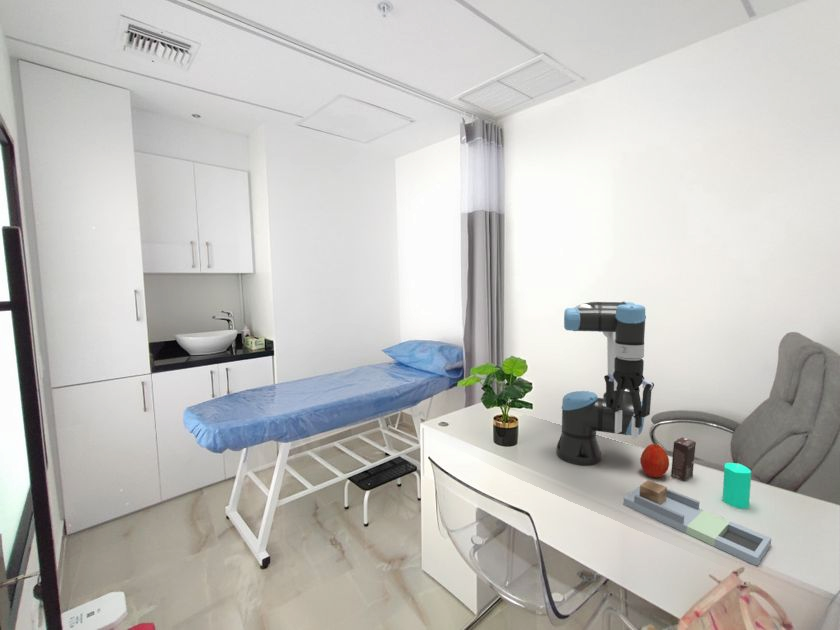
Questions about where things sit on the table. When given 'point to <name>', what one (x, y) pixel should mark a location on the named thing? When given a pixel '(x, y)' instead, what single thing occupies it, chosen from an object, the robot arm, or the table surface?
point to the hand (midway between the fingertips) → (626, 434)
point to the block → (653, 492)
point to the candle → (736, 485)
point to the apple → (654, 461)
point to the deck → (703, 525)
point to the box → (683, 459)
